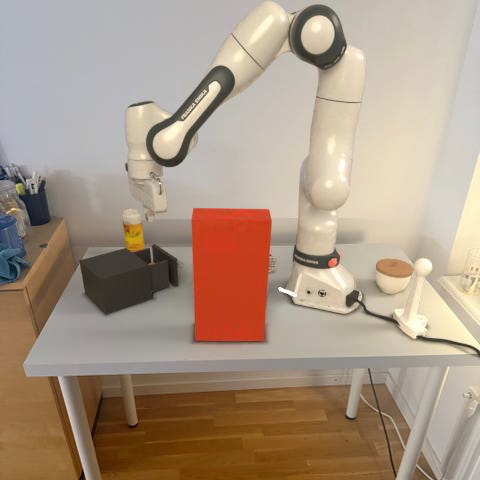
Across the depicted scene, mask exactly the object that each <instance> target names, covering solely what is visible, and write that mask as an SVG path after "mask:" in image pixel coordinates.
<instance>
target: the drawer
mask: <svg viewBox="0 0 480 480" xmlns="http://www.w3.org/2000/svg"><path fill="white" fill-rule="evenodd" d="M151 251H152V255H151ZM132 253H134V254H135V255H136V256H138V257H139V258H140V259H142V260H143V261H145V262H146V263H147V264H149V263H153V262H154V264H151V265H149V267H150V279H151V290H152V293H153V292H156V291H159V290H162V289H165V288H168V287H170V284H171V285H172V286H173V287H179V270H178V268H179V269H184V268H185V267H186V265H185V263H184V262H182V261H181V260H180V259H178V258H177V257H175V256H174V255H172V254H171V253H169V252H168V251H167V250H165V249H164V248H162V247H160V246H159V245H157V244H156V243H154V244H151V248H150V247H147V248H144V249H143V250H139V251H135V252H132Z"/></svg>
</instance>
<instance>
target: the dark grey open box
mask: <svg viewBox="0 0 480 480" xmlns="http://www.w3.org/2000/svg"><path fill="white" fill-rule="evenodd" d="M78 262H79V267H80V273H81V279H82V283H83V289H84V294H85V295H86V296H87V297H88V299H90V300H91V301H92V302H93V303H94V304H95V305H96V306H97V307H98V308H99V309H100V310H101V311H102V313H104V314H105V315H108V314H109V315H110V314H111V313H114V312H118V311H120V310H124V309H126V308H129V307H132V306H136V305H138V304H141V303H144V302H147V301H150V300H152V299H153V292H152V290H151V279H150V267H149V264H147V263H146V262H145V261H143V260H142V259H140V258H139V257H138V256H136V255H135V254H134V253H132V252H131V251H130V250H128V249H127V248H126V247H123V248H120V249H117V250H113V251H109V252H105V253H100V254H98V255H94V256H91V257H86V258H83V259H79V260H78Z"/></svg>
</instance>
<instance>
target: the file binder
mask: <svg viewBox="0 0 480 480" xmlns="http://www.w3.org/2000/svg"><path fill="white" fill-rule="evenodd" d="M191 213H192V214H191V221H190V223H191V249H192V250H191V251H192V253H191V254H192V279H193V280H192V283H193V307H194V308H193V311H194V312H193V315H194V341H195V342H264V341H265V333H266V332H265V329H266V318H267V317H266V315H267V300H268V286H269V285H268V284H269V273H270V272H269V257H270V254H271V242H272V241H271V240H272V226H273V225H272V223H273V219H272V216H271V215H272V214H271V212H270V209H269V208H228V207H227V208H225V207H223V208H221V207H193V208H192V212H191Z"/></svg>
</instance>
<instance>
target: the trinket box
mask: <svg viewBox="0 0 480 480" xmlns="http://www.w3.org/2000/svg"><path fill="white" fill-rule="evenodd" d="M413 273H414V270H413V265H411V263H408V262H407V261H405V260H402V259H397V258H383V259H382V258H381V259H379V260H378V261H377V262H376V263H375V271H374V281H375V283H376V286H377V287H378V288H379V290H380V291H381V292H383V293H386V294H391V295H395V294H399V293H400V292H401V291H403V290H405V289H406V288H407V287H408V285H409V283H410V281H411V280H412V279H411V278H412V275H413Z"/></svg>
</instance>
